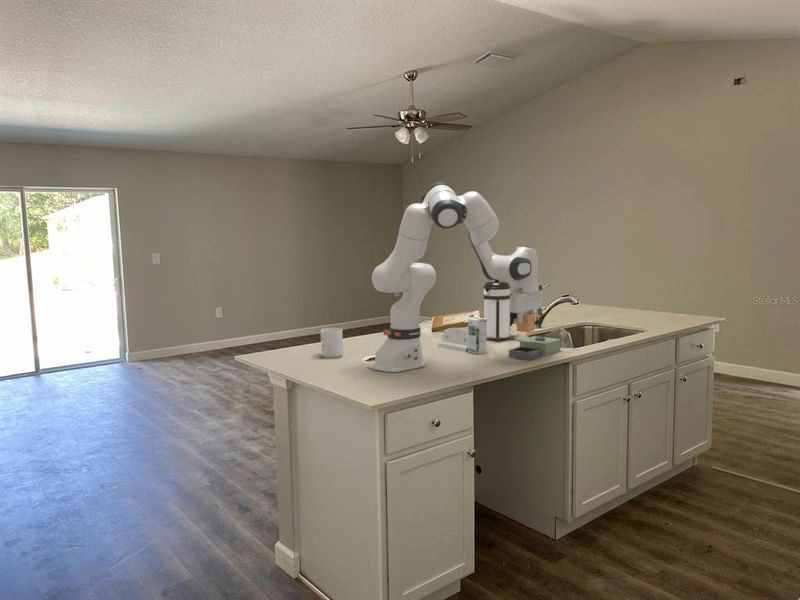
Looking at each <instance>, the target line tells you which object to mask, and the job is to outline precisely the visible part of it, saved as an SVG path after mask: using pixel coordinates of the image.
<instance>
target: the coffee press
mask: <svg viewBox="0 0 800 600" xmlns="http://www.w3.org/2000/svg"><path fill="white" fill-rule="evenodd" d="M511 288H512V286H511V285H510V283H509V281H507V280H487V281H486V282H485V283H484V284H483V286H482V289H483V294H482V296H483V297H482V314H483V319H487V338H489V339H495V343H500V339H505V338H508V339H509V340H510V341H511V340H513V336H512V334H511V326H512V324H513V322H514V318H515V313H511V319H510V310H509V304H510V297H511V294H512V293H511ZM509 336H511V338H510V337H509Z"/></svg>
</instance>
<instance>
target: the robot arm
mask: <svg viewBox="0 0 800 600" xmlns="http://www.w3.org/2000/svg"><path fill="white" fill-rule="evenodd" d="M420 200H421V203H417V202H416V203H411V204H409V206H407V207H406V209H405V211H404V213H403V216H402V219H401V222H400V225H399V231H398V235H397V239H396V243H395V247H394V248H393V250H392V252H391V253H390V255H389V256H388V257H387V258H386V259H385V261H383V262H382V263H380V264H379V265H378V266H375V268H374V269H373V272H372V274H371V283H372V286H373V287H374V288H375V290H376V291H377V292H381V293H382V292H383V293H389V294H390V293H403V294H402V297H401V298H400V299H399V300H398V301H396V302H395V303H393V305H392V306H391V308H390V327H389V329H388V330H387V329H384V330H383V332H382V333H383V336H387V338H386V340H385V341H384V342H383V343H382V344H381V346H380V347H379V348H378V349H377V350H376V353H375V357H374V358H375V360H374V362H372V363H369V365H368V368H370V369H372V370H375V371H380V372H386V373H387V372H388V373H398V372H403V371H408V370H412V369H413V370H414V369H419V368H423V367H425V366H426V363H425V362H424V356H423V348H422V347H423V346H422V342H421V339H420V337H421V333H422V332H421V327H420V309H421V305H422V302H423V299H424V297H425V296H426V294H427V293H428V292H429V291H430V290H431V289H433V287H434V285H435V283H436V281H437V280H436V279H437V273H436V270H435V268H434V267H433V266H432V265H431V264H430V263H423V262H417V261H419V260H420V259H421V258H423V256H425V253H426V250H427V246H428V242H429V237H430V232H431V229H432V226H433V225H434V224H435V225H436V226H437V227H439V228H441V229H445V230H447V229H452V228H454V227H456V226H457V225H459V224H462V223H464V225H465V226H466V228H467V230H468V231H469V232H468V238H469V241H470V244H471V246H472V249H473V250H474V253H475V254H476V257H477V258H478V261H479V262H480V266H481V269H482V274H483V275H484V276H485V278H486V279H487V280H488V281H495V280H499V281H510V282H511V281H512V282H514V289H513V291H512V293H511V297H510V304H509V310H510V312H511V313H517V316H518V318H519V323H524V320H525V318H523V313H524V312H525V311H528V312H529V313H534V309H538V310H539V309H541V308H542V305H543V290H544V285H543V284H541V283H539V282H538V276H537V275H538V274H537V272H538V268H539V267H538V266H539V265H538V263H539V261H538V260H539V259H538V253H537V252H538V251H537V250H536V249H535V248H534V247H531V246H525V245H524V246H522V245H521V246H517V247H516V249H515V252H513V253H511V254H510V255H500V254H496V253H495V252H493V251H492V249H491V246H490V244H489V242H488V241H490V240H491V239H492V238H494V237H495V235H496V234H497V233H498V231H499V226H500V221H499V219H498V217H497V215H496V213H495V212H494V210H493V209H492V207H491V206H490V204H489V202H487V200H486V199H485V198H484V197H483V196H482V195H481V194H480V193H479V192H477V191H475V190H473V191H472V190H471V191H470V190H469V191H468V192H465V193H464V194H462V195H457V194H456V192H455V190H454V189H453V187H452V186H451V185H449V184H448V183H446V182H442V181H438V182H435V183H433V184H432V185H431V186H430V187H429V188H428V189H427V190H426V192H425V193H424V194H423V196H422V197H421V199H420Z"/></svg>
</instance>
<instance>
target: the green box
mask: <svg viewBox="0 0 800 600" xmlns="http://www.w3.org/2000/svg"><path fill="white" fill-rule="evenodd" d="M520 346H521V347H528V348H535V349H541V352H540V357H541V356H542V357H547V356H550V355H553V354H555V353H558V352H560V351H561V338H553V337H547V336H536V335H533V336H529V337H526V338H524V339H521V340H519V347H520Z"/></svg>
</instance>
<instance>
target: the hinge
mask: <svg viewBox="0 0 800 600" xmlns="http://www.w3.org/2000/svg"><path fill="white" fill-rule="evenodd" d="M437 347H438V348H443V349H446V350H447V349H448V350H452V351H459V352H463V353H467V352H468V329H465V328H462V327H461V328H460V327H449V328H445V329H444V332H443V334H442V337H441V340H440V341H439V342H438V346H437Z"/></svg>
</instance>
